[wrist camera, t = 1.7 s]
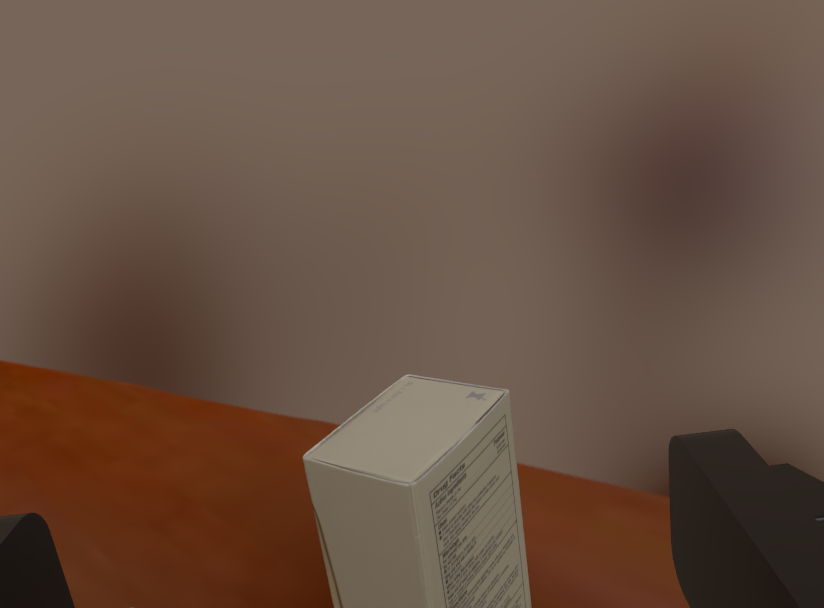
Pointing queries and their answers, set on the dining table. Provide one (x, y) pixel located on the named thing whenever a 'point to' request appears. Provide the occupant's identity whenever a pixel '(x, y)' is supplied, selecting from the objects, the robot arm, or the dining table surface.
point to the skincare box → (422, 500)
